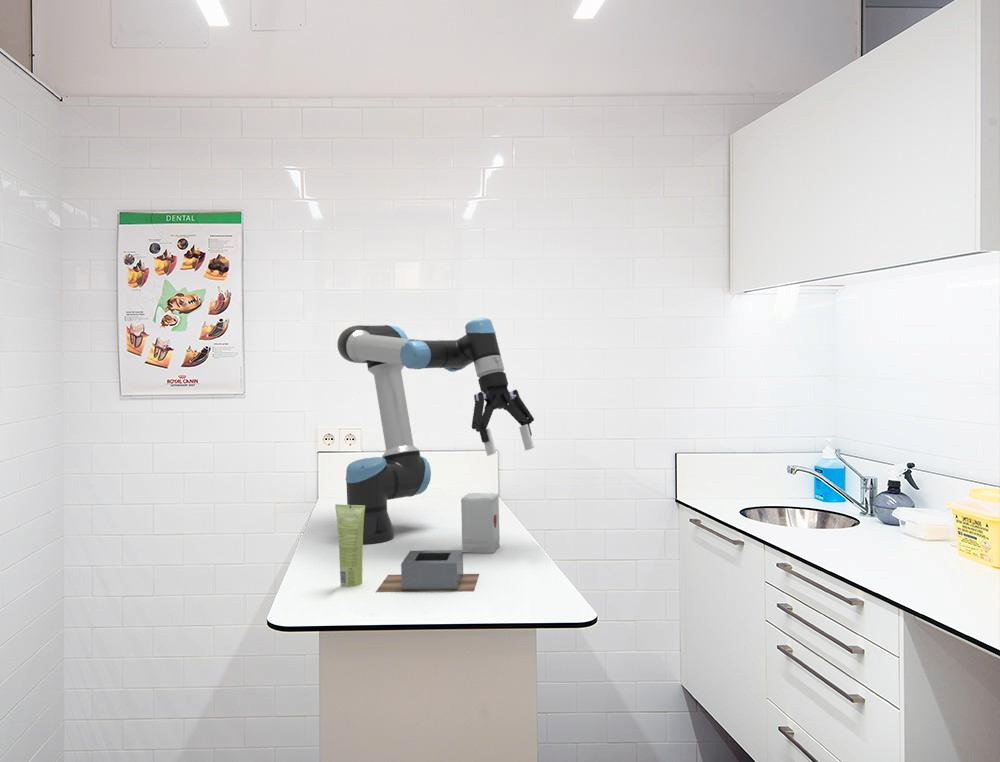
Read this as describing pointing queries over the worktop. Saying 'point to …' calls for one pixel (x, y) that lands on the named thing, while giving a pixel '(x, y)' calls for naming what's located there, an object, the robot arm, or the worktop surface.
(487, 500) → the supplement box
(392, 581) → the base plate
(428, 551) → the collar
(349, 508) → the tube
